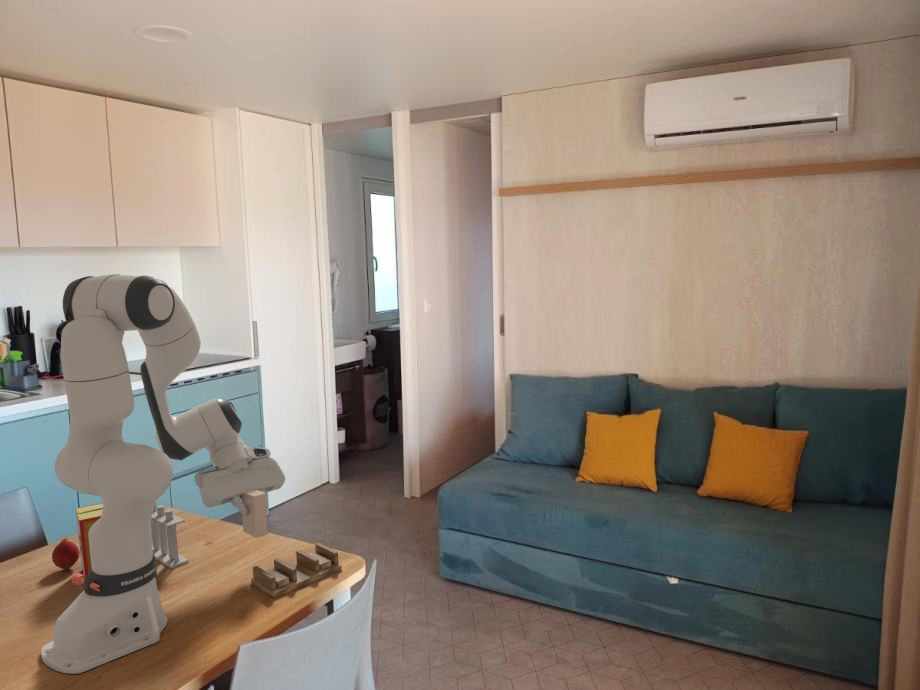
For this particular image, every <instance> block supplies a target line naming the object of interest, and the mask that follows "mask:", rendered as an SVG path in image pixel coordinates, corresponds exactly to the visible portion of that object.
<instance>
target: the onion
mask: <svg viewBox="0 0 920 690" xmlns="http://www.w3.org/2000/svg"><path fill="white" fill-rule="evenodd" d="M80 556H81V555H80V547H78V545H77V544H76V543H74V542H72V541H69V540H68V537H65V536H64V537H63V538H62V539H61V541H60V543H58V544H57V545H56V546H55V547H54V549H53V551H52V554H51V560H52V562H53V564H54V565H55V567H57V568H60V569H62V570H65V569H68V570H70V569H71V568H72V567H73V566H74V565H75V564H76V563H77V562H78V560H79V558H80ZM69 568H70V569H69Z"/></svg>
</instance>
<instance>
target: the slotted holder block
mask: <svg viewBox="0 0 920 690" xmlns="http://www.w3.org/2000/svg"><path fill="white" fill-rule="evenodd" d="M295 554H296V555H295V556H296V557H295V558H296V560H295V561H293V562H290V563H287V562H285V561H284V560H282V559H280V558H278V557H276V558H275V559H273V567H274V568H273V567H271V568H268V569H266V570H265V569H263V568H261V567H260V566H257V565H256V566H253V567H252V575H253V576H252V577H251V578H250V583H251V585H253V586H254V587H256V588H257V589H258V590H260V589H261V590H260V591H263V592H264V593H265V594H266V595H269V596H270V597H271V598H273V599H276V598H278V597H281V596H283V595H286V594H287V593H290V592H293V591H295V590H297V589H299V588H302V587H304V586H307V585H310V584H312V583H313V582H316V581H318V580H321V579H324V578H325V577H328V576H331V575H333V574H336V573H338V572H339V571H342V570H343V568H342V567H343V566H342V564H340V562H339V551H337V550H334V549H333V548H331V547H328V546H327V545H324V544H322V543H321V542H317V543H315V551H312V552H310V553H307V552H305V551H303V550H301V549H298V550H296V551H295Z"/></svg>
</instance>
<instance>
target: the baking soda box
mask: <svg viewBox="0 0 920 690" xmlns="http://www.w3.org/2000/svg"><path fill="white" fill-rule="evenodd" d="M102 510H103V502H102V503H101V502H100V503H95V504H91V505H86V506H80V507H75V515H76V524H77V525H76V526H77V535H78V536H77V537H78V545H79V552H80V555H79V556H80V563H81V564H80V565H81V570H82V571H83V572H82V575H84V576H86V577H87V575H88V573H89V570H90V568H91V557H90V548H89V538H88V534H89V530H90V528H91V526H92V525H93V524H94V523H95V522H96V521H97V520H99V519H100V518H101V515H102Z"/></svg>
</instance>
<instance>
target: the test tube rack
mask: <svg viewBox="0 0 920 690" xmlns="http://www.w3.org/2000/svg"><path fill="white" fill-rule="evenodd" d="M185 522H186V521H185V519H184V518H181V517H180V516H177V515H176V514H174V512H173V510H172V509H166V507H165V506H164V505H163V504H162V505H161V504H160V505H157V502H156V503H155V506H154V508H153V512H152V517H151V540H152V553H153V555H154V556H155V561H158V562H159V563H161V564H162V565H164V566H166V567H168V568H169V569H171V570H172V569H175V568H178V567H181V566H183V565H185V564H189V563H188V562H189V559H187V558H186V557H184V556H183V555H181V554H179V547H178V535H177V525H178V524H181V523H182V524H183V523H185Z"/></svg>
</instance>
